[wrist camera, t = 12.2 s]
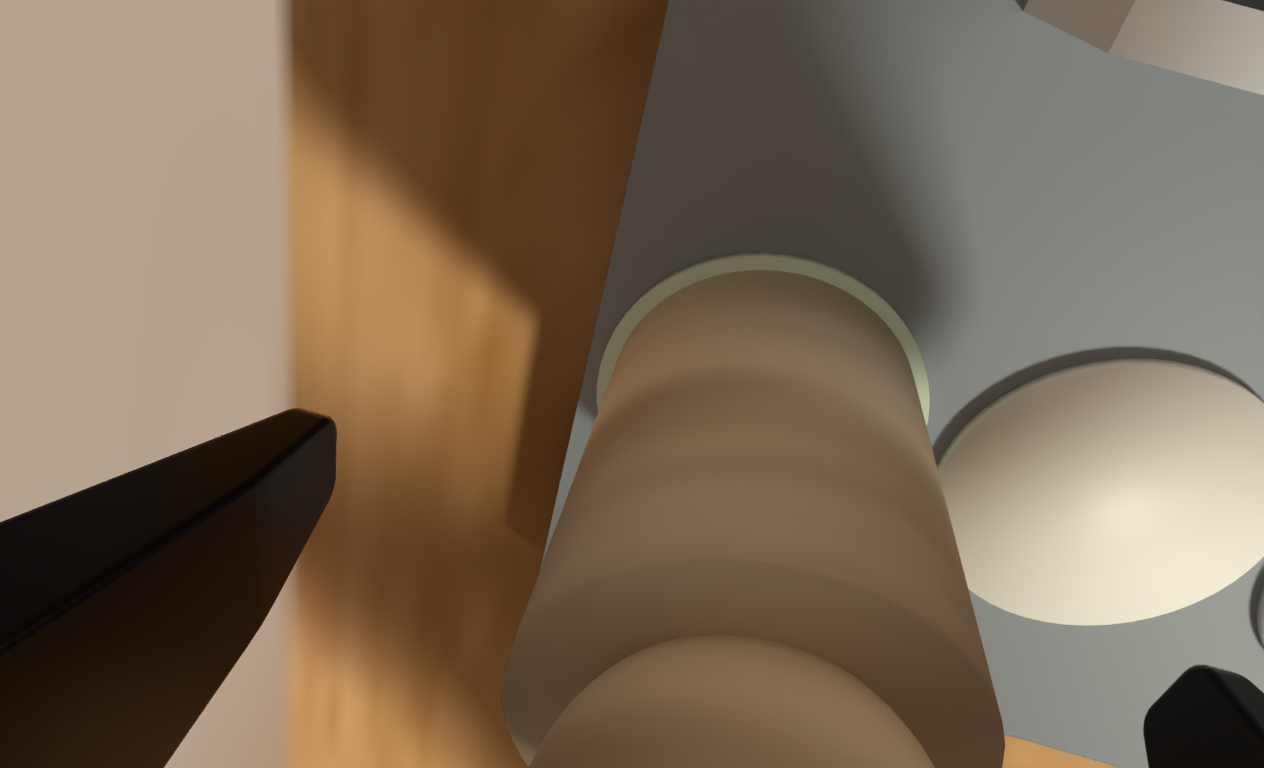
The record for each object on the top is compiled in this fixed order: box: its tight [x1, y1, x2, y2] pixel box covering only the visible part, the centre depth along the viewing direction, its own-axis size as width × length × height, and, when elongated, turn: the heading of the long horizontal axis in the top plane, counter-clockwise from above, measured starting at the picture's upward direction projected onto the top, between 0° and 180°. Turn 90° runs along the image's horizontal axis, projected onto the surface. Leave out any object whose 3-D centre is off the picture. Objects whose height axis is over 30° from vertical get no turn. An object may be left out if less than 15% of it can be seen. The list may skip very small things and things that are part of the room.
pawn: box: [501, 270, 1005, 768], centre depth 7 cm, size 4×4×8 cm
